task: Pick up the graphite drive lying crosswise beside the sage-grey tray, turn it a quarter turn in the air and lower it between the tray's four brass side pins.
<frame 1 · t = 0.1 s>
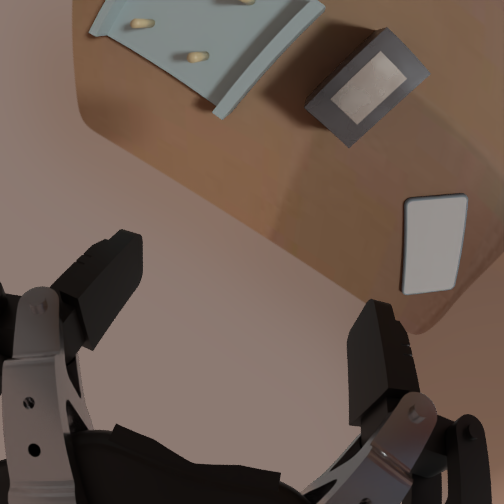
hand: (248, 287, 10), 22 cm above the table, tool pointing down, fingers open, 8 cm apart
drive: (360, 81, 23), on the table
smartphone: (432, 245, 33), on the table
tray: (201, 11, 21), on the table
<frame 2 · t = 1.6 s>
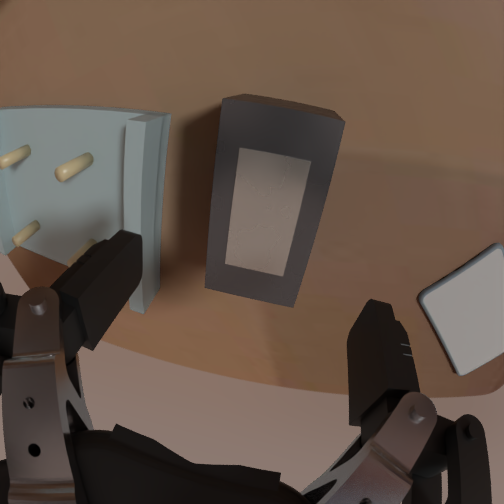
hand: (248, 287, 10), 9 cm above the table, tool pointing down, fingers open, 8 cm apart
drive: (274, 181, 18), on the table
smartphone: (477, 316, 21), on the table
tray: (66, 190, 20), on the table
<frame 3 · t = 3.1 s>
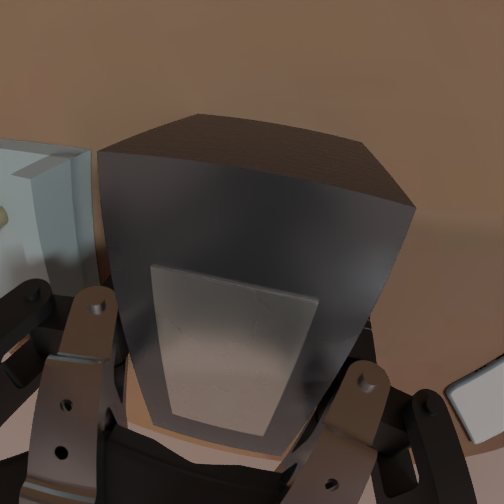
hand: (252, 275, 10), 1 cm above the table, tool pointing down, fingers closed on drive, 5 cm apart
drive: (256, 263, 11), on the table, touching gripper
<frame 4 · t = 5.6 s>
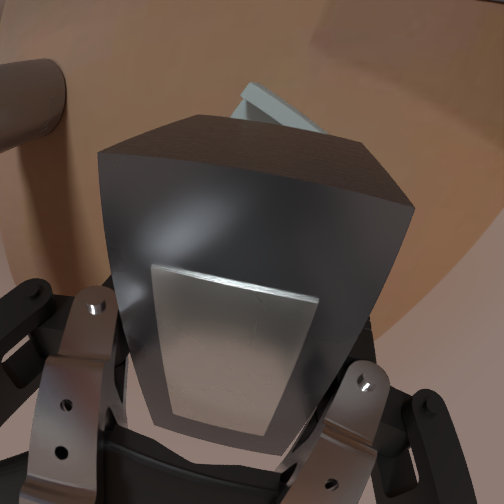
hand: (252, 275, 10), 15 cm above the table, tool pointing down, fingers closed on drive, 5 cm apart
drive: (256, 263, 11), point 15 cm above the table, touching gripper
tray: (264, 215, 26), on the table
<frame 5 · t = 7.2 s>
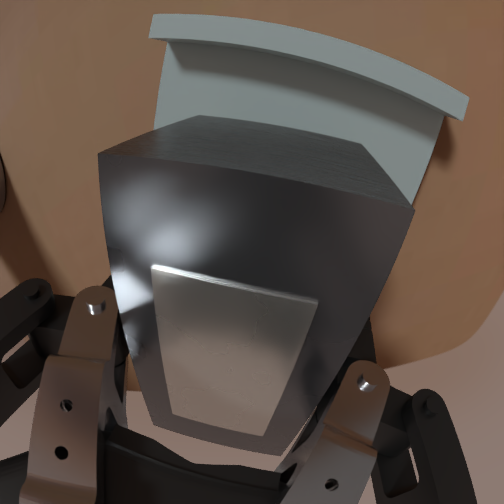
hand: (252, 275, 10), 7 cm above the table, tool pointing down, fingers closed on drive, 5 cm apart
drive: (256, 264, 11), point 7 cm above the table, touching gripper
tray: (273, 202, 16), on the table
when the fingers open (3 cm above the table, at t = 8.4 s): drive drops 1 cm, resting on tray.
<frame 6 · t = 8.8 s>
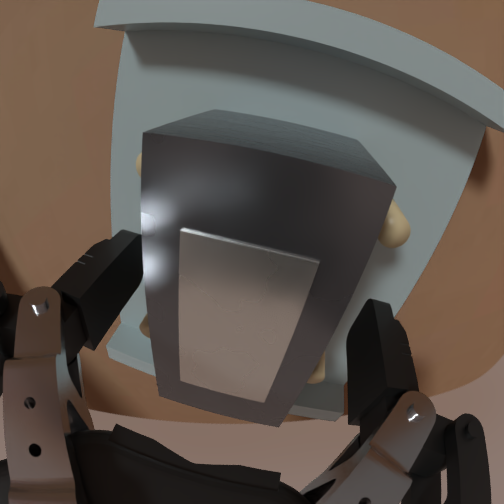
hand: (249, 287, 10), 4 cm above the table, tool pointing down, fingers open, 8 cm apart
drive: (260, 245, 12), point 1 cm above the table, touching tray
tray: (264, 233, 13), on the table
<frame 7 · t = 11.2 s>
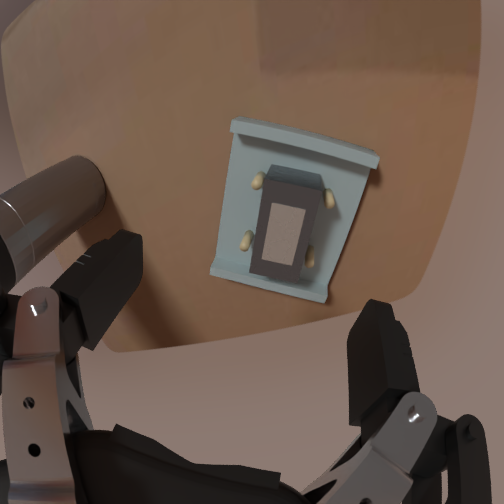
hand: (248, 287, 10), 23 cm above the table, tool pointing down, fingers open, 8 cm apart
drive: (286, 213, 32), point 1 cm above the table, touching tray
tray: (287, 209, 33), on the table
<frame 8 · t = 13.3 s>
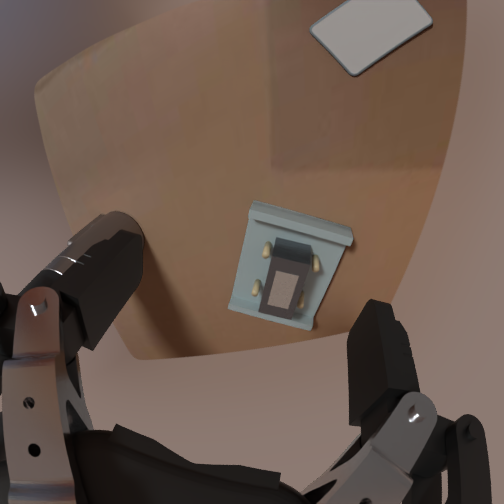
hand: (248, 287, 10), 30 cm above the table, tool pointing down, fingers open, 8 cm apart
drive: (285, 269, 44), point 1 cm above the table, touching tray
smartphone: (372, 23, 26), on the table
tray: (286, 265, 45), on the table
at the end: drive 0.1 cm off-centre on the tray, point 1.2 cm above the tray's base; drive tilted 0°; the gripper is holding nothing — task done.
